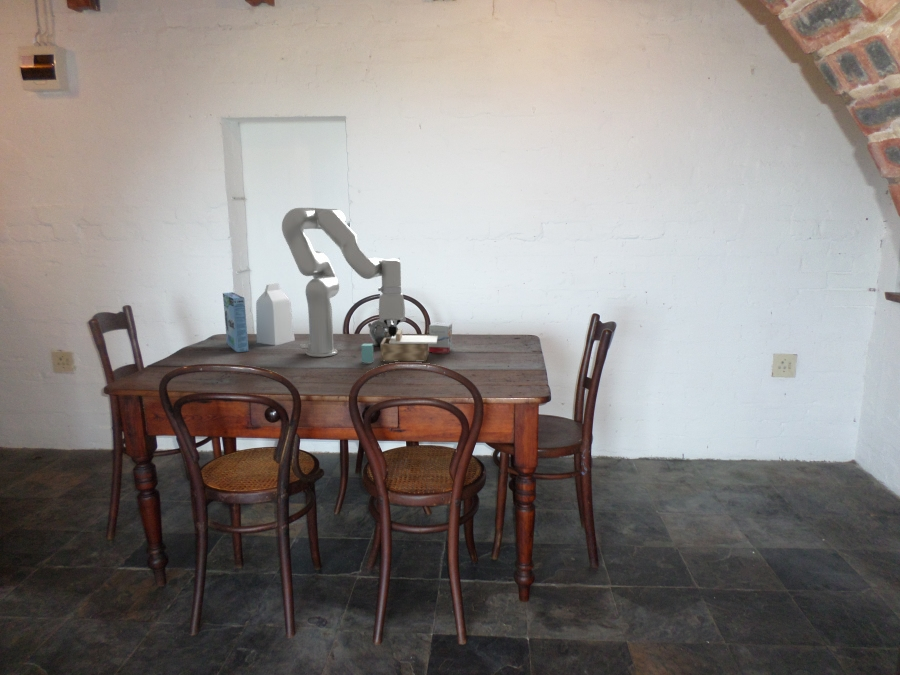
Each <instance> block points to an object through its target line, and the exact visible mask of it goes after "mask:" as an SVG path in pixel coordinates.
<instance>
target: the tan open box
mask: <svg viewBox="0 0 900 675" xmlns="http://www.w3.org/2000/svg"><path fill="white" fill-rule="evenodd" d="M390 339H391V338H384V339H383V341H382V342H381V344H380V345H379V346H380V361H381V360H385V361H384V362H400V361H416V360H424V361H416V362H417V363H419V362H421V363H422V362H423V363H424V362H425V363H427V361H426V360H428V355H429V344H389V341H390ZM394 360H398V361H394ZM400 363H401V362H400Z"/></svg>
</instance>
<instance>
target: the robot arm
mask: <svg viewBox="0 0 900 675" xmlns="http://www.w3.org/2000/svg"><path fill="white" fill-rule="evenodd" d="M309 229H311V230H312V229H313V230H322V231H323V232H324V234H326V236H328V237H329V238H330V240H332V241H333V243H334V244H335V245H336V246H337V247H338V248H339V249H340V251H341V254H342V256H343V257H344V259H345V261H346V262H347V264H348V265H349V266H350V267H351V268H352V270H354V272H355V273H357V275H358V276H360V277H361V278H362V279H365V280H370V279H374V278H378V277H381V287H378V289H377V290H378V292H381V293H380V294H379V300H378V317H379V318H378V320H379V321H380V322H384V323H385V324H386V325H388V327H389V334H390V337H392V336H393V337H394V336H395V334H396V326H397V327H398V325H399V324H400V323H403V322H406V320H407V319H406V316H405V315H406V308H405V300H404V295H403V294H404V293H402V283H401V282H402V276H401V275H402V273H401V272H402V271H401V261H400V260H399V259H397V258H386V259H384V258H379V257H373V258H369V257H367V256H368V255H367V256H366V255H365V252H363V251H362V250H361V248H360V246H359V245H358V237H357V233H355V232H354V230H352V228H350V226H348V225H347V223H346V216H345V214H344V212H343V211H341V210H340V209H337V208H318V207H294V208H292V209H290V210H289V211H287V213H286V214H285V215H284V217H283V218H282V221H281V231H282V235H283V237H284V239H285V241H286V244H287V246H288V248H289V250H290V253H291V256H292V257H293V259H294V261H295V263H296V266H297V268H298V271H299V273H300V274H301V275H303V276H305V277H313V278H311V279H310V280H309V281H308V283H307V284H306V286H305V297H306V302H307V310H308V312H307V313H308V329H309V330H308V332H309V334H308V335H309V342H307V343H300V344H299V348H300V349H301V350H306V351H305V353H306V356H308V357H312V358H313V357H314V358H317V357H318V358H324V357H332V356H336V354H338V350H337V349H336V348H334V331H333V330H334V328H333V327H334V325H333V309H332V304H331V300H330V299H331V298H333V297H335V296H336V295H337V294H338V293H339V291H340V284H339V280H338V278H337V275H336V272H335V270H334V268H333V266H332V263H331V262H330V259H329V258H328V256H327V255H325V253H323V252H321V251H318V250H317V251H315V250H314V248H313V246H312V243H311V240H310V239H309V238H308V236H307V235H306V234H305V232H304V230H309ZM391 320H394V324H393V326H392V324H391Z"/></svg>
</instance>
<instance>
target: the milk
mask: <svg viewBox="0 0 900 675" xmlns="http://www.w3.org/2000/svg"><path fill="white" fill-rule="evenodd" d="M255 310H256V311H255V317H256V318H255V319H256V320H255V322H256V326H255V327H256V343H257V344H263V345H270V346H279V345H282V344H285V343H290V342H295V341H296V339H295V331H294V329H295V328H294V322H293V313H292V312H293V311H292V304H291V299H290V298H289V297H288V296H287V295H286V293H285V292H284V291H283V290H282V289H281V287H280V284H279V283H271V284H270V283H269V284H266V286H265V289H264V292H263V293H262V294H261V295H260V296H259V297H258V298H257V300H256V303H255Z"/></svg>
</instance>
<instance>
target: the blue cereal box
mask: <svg viewBox="0 0 900 675" xmlns="http://www.w3.org/2000/svg"><path fill="white" fill-rule="evenodd" d="M222 299H223V311H224V323H225V334H226V335H225V336H226V337H225V338H226V344H227V345H228V346H229V347H230V348H232V350H234V351H235V352H236V353H243V352H244V353H245V352H249V342H248V341H249V339H248V325H247V315H246V303H245V302H246V300H245V297H243V296H241V295H239V294H237V293H235V292H234V291H233V292H232V291H231V292H223V293H222Z"/></svg>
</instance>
